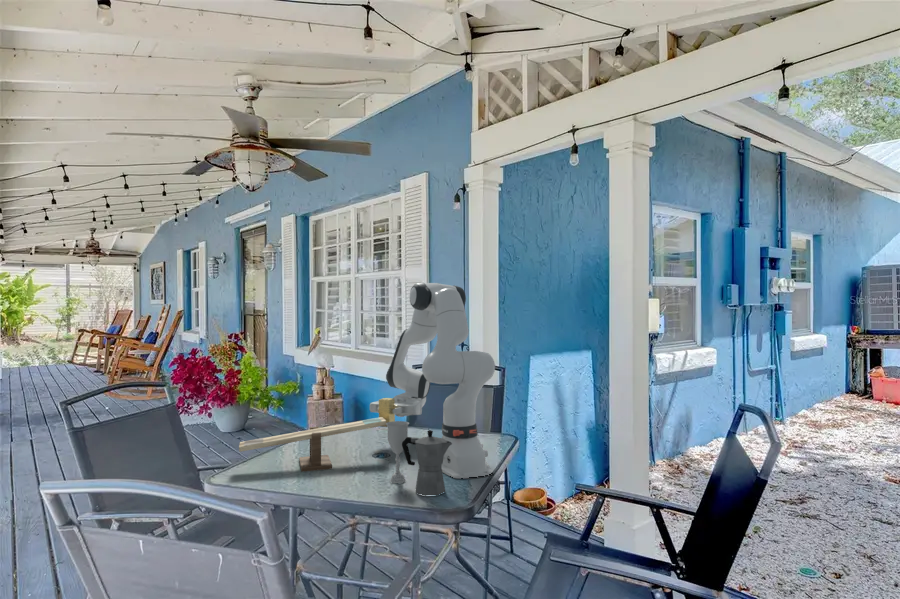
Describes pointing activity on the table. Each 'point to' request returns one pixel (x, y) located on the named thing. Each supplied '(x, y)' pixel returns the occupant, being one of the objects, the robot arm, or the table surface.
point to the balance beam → (310, 434)
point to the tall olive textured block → (386, 409)
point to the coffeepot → (428, 462)
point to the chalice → (397, 445)
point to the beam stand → (315, 456)
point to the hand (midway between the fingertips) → (385, 411)
